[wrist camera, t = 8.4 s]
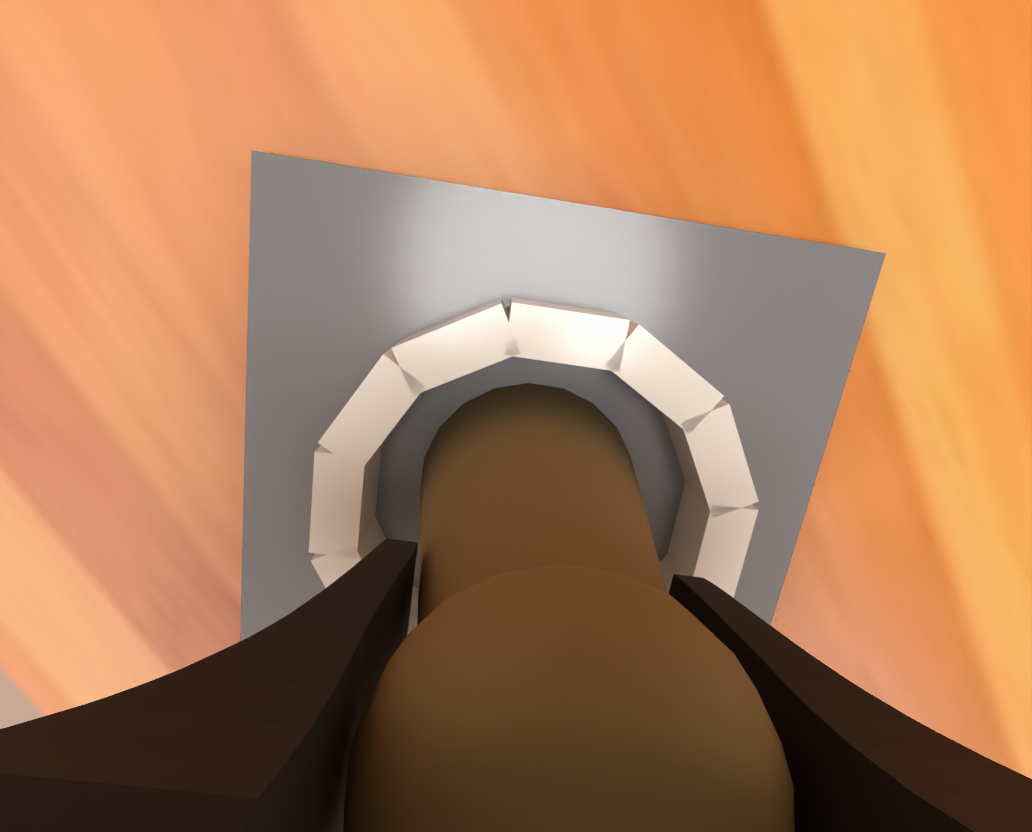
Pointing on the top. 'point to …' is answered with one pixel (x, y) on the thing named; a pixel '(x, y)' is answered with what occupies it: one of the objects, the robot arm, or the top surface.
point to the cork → (555, 653)
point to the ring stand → (528, 365)
